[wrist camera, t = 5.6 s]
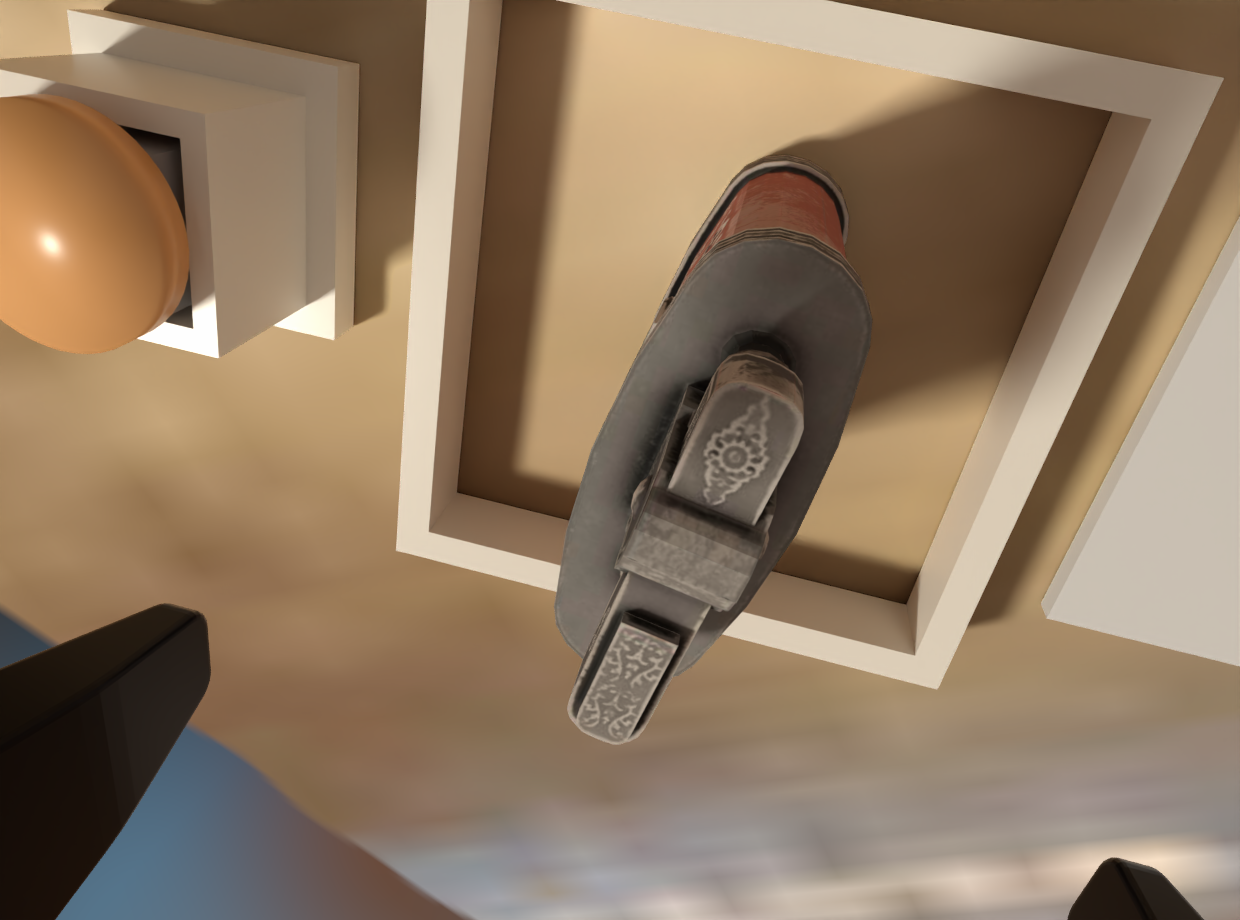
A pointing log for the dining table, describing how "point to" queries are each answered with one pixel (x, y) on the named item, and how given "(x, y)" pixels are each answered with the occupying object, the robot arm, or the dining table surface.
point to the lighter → (712, 441)
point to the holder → (450, 241)
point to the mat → (1171, 498)
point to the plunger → (88, 226)
